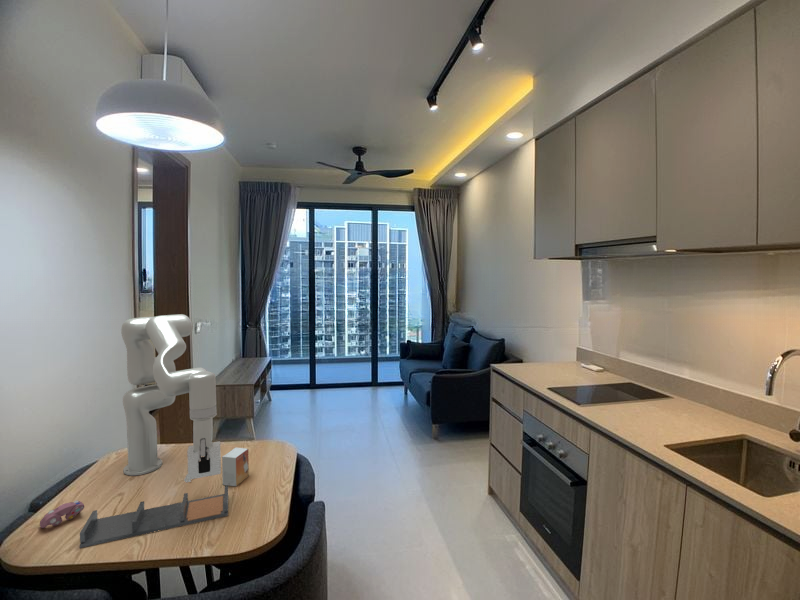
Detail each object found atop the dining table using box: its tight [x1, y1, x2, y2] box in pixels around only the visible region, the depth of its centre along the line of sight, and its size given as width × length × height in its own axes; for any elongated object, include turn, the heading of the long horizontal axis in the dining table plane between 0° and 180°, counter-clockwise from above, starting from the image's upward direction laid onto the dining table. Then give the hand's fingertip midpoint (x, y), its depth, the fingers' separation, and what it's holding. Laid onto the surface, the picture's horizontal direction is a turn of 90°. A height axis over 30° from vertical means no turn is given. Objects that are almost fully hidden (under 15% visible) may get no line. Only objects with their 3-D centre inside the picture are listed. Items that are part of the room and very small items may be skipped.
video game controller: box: [39, 499, 85, 529], centre depth 117 cm, size 10×5×7 cm, turn 149°
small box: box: [221, 447, 250, 487], centre depth 141 cm, size 8×6×10 cm
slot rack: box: [79, 485, 229, 549], centre depth 119 cm, size 12×37×4 cm, turn 113°
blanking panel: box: [186, 441, 222, 480], centre depth 122 cm, size 4×9×9 cm, turn 113°
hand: (205, 468), depth 123 cm, fingers closed on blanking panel, 4 cm apart
